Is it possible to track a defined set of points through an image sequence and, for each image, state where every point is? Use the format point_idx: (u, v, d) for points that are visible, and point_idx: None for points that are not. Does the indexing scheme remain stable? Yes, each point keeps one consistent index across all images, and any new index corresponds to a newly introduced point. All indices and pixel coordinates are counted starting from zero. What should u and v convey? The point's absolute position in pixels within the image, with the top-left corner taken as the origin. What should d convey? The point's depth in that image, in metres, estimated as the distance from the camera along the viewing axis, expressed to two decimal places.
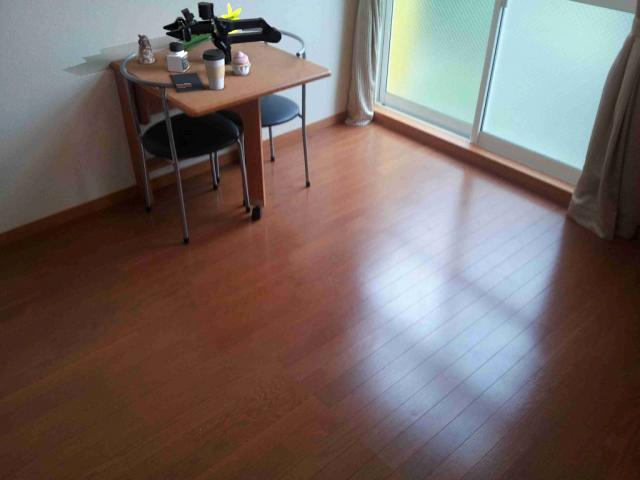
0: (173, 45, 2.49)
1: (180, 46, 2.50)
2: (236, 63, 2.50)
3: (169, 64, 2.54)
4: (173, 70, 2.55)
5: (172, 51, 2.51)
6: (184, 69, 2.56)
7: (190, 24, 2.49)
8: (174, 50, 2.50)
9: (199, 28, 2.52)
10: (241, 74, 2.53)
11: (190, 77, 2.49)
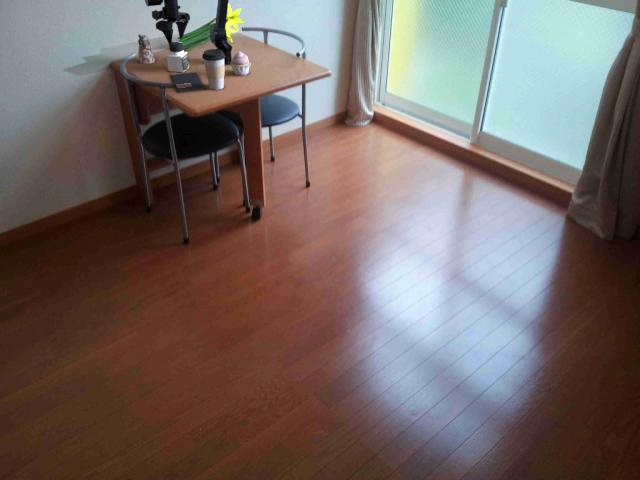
0: (173, 45, 2.49)
1: (180, 46, 2.50)
2: (236, 63, 2.50)
3: (169, 64, 2.54)
4: (173, 70, 2.55)
5: (172, 51, 2.51)
6: (184, 69, 2.56)
7: (163, 15, 2.43)
8: (174, 50, 2.50)
9: (166, 6, 2.40)
10: (241, 74, 2.53)
11: (190, 77, 2.49)
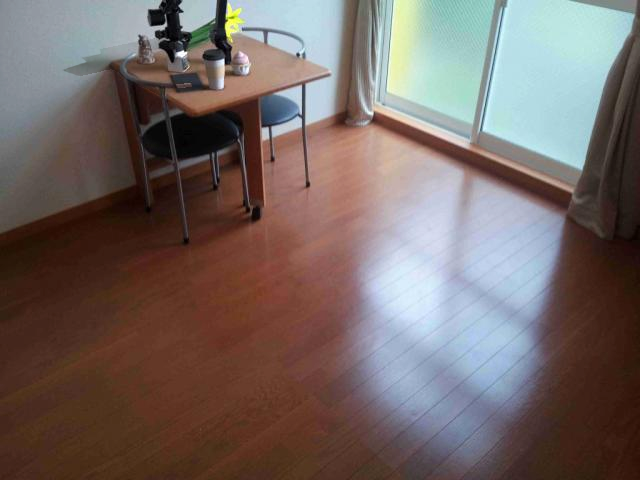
0: None
1: (180, 46, 2.50)
2: (236, 63, 2.50)
3: (169, 64, 2.54)
4: (173, 70, 2.55)
5: None
6: (184, 69, 2.56)
7: (166, 35, 2.48)
8: None
9: (169, 26, 2.45)
10: (241, 74, 2.53)
11: (190, 77, 2.49)
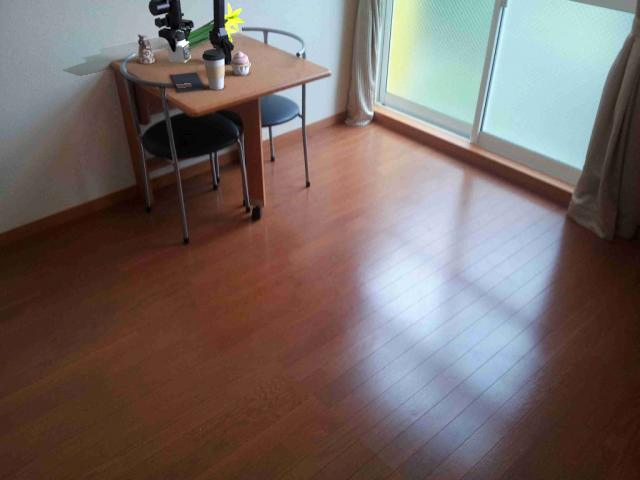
0: None
1: (181, 35, 2.39)
2: (236, 63, 2.50)
3: (170, 54, 2.42)
4: (174, 60, 2.44)
5: None
6: (185, 59, 2.44)
7: (166, 23, 2.36)
8: None
9: (169, 14, 2.33)
10: (241, 74, 2.53)
11: (190, 77, 2.49)
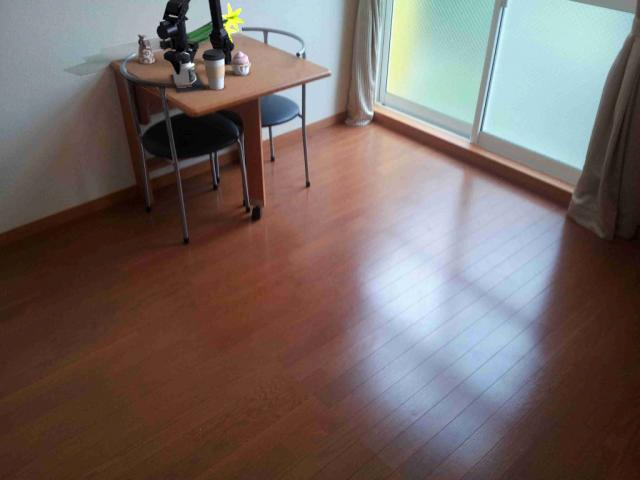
0: None
1: (187, 57, 2.38)
2: (236, 63, 2.50)
3: (175, 76, 2.41)
4: (179, 83, 2.42)
5: None
6: (191, 81, 2.43)
7: (171, 45, 2.34)
8: None
9: (174, 36, 2.32)
10: (241, 74, 2.53)
11: None
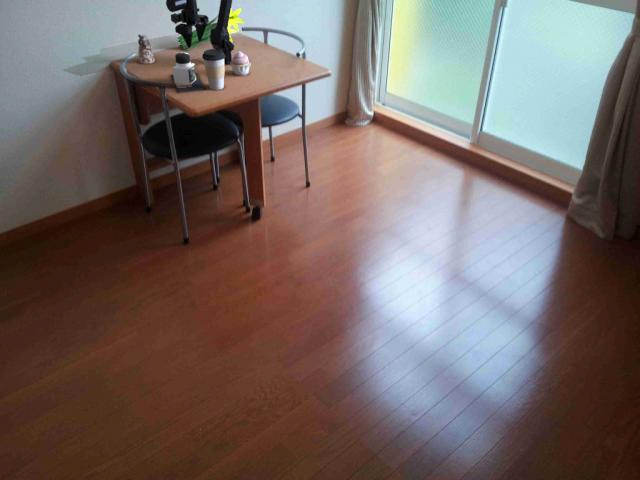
0: (179, 56, 2.37)
1: (187, 57, 2.38)
2: (236, 63, 2.50)
3: (175, 76, 2.41)
4: (179, 83, 2.42)
5: (178, 63, 2.38)
6: (191, 81, 2.43)
7: (182, 18, 2.40)
8: (180, 62, 2.37)
9: (185, 9, 2.37)
10: (241, 74, 2.53)
11: None
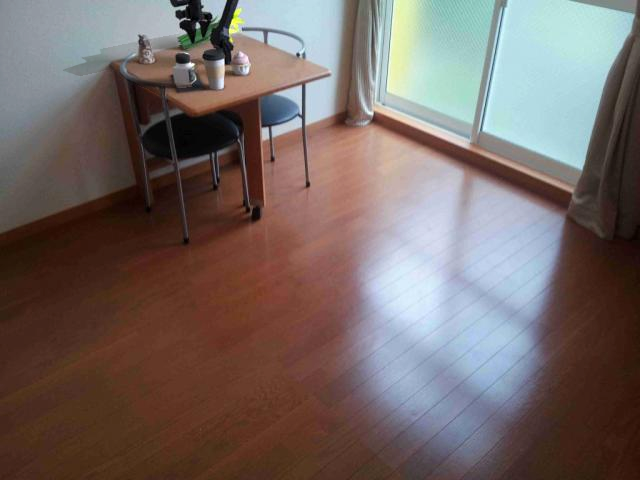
0: (179, 56, 2.37)
1: (187, 57, 2.38)
2: (236, 63, 2.50)
3: (175, 76, 2.41)
4: (179, 83, 2.42)
5: (178, 63, 2.38)
6: (191, 81, 2.43)
7: (186, 15, 2.43)
8: (180, 62, 2.37)
9: (190, 6, 2.40)
10: (241, 74, 2.53)
11: None
